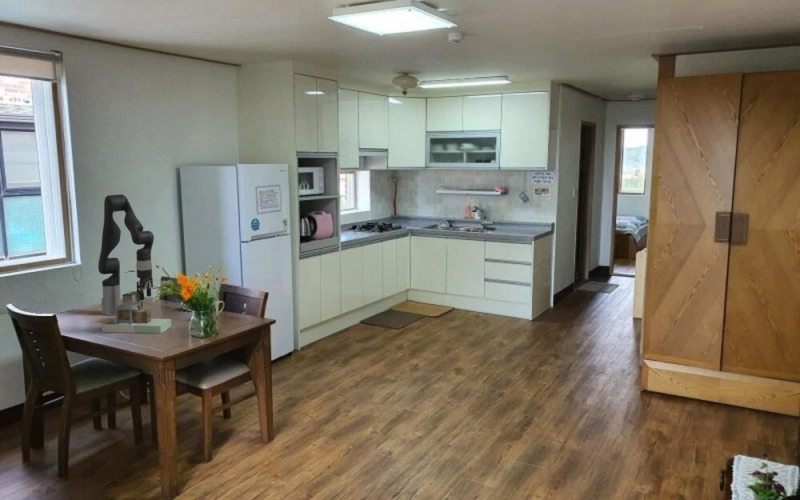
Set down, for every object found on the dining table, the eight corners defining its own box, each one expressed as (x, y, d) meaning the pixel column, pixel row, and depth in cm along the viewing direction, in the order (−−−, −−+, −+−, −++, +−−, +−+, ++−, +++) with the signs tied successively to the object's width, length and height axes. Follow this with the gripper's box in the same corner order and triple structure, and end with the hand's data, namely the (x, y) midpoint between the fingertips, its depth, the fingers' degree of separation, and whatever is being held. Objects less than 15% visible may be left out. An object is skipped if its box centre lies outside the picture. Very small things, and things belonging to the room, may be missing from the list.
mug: (216, 322, 329) (215, 302, 327) (199, 321, 331) (199, 301, 329) (225, 318, 340) (224, 298, 338) (209, 316, 341) (208, 296, 340)
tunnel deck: (102, 331, 306) (101, 307, 305) (115, 324, 320) (114, 301, 318) (160, 333, 306) (159, 309, 305) (171, 326, 320) (170, 303, 318)
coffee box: (133, 318, 334) (132, 291, 332) (143, 319, 333) (142, 291, 331) (123, 322, 325) (122, 294, 323) (133, 323, 324) (132, 295, 322)
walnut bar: (117, 322, 311) (117, 311, 310) (121, 320, 315) (121, 309, 314) (147, 323, 311) (147, 312, 310) (151, 320, 315) (150, 310, 314)
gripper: (143, 266, 316) (144, 295, 318) (131, 270, 302) (132, 301, 304) (156, 266, 316) (158, 295, 318) (145, 270, 301) (146, 301, 304)
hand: (145, 298), depth 311 cm, fingers open, 8 cm apart
